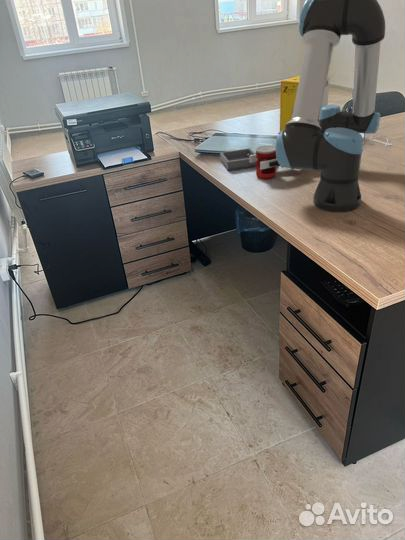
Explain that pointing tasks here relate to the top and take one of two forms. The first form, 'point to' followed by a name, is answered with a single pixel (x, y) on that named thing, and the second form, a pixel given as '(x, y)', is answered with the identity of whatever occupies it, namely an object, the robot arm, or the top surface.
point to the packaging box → (293, 99)
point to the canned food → (263, 155)
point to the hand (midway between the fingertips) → (255, 162)
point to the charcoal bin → (237, 159)
